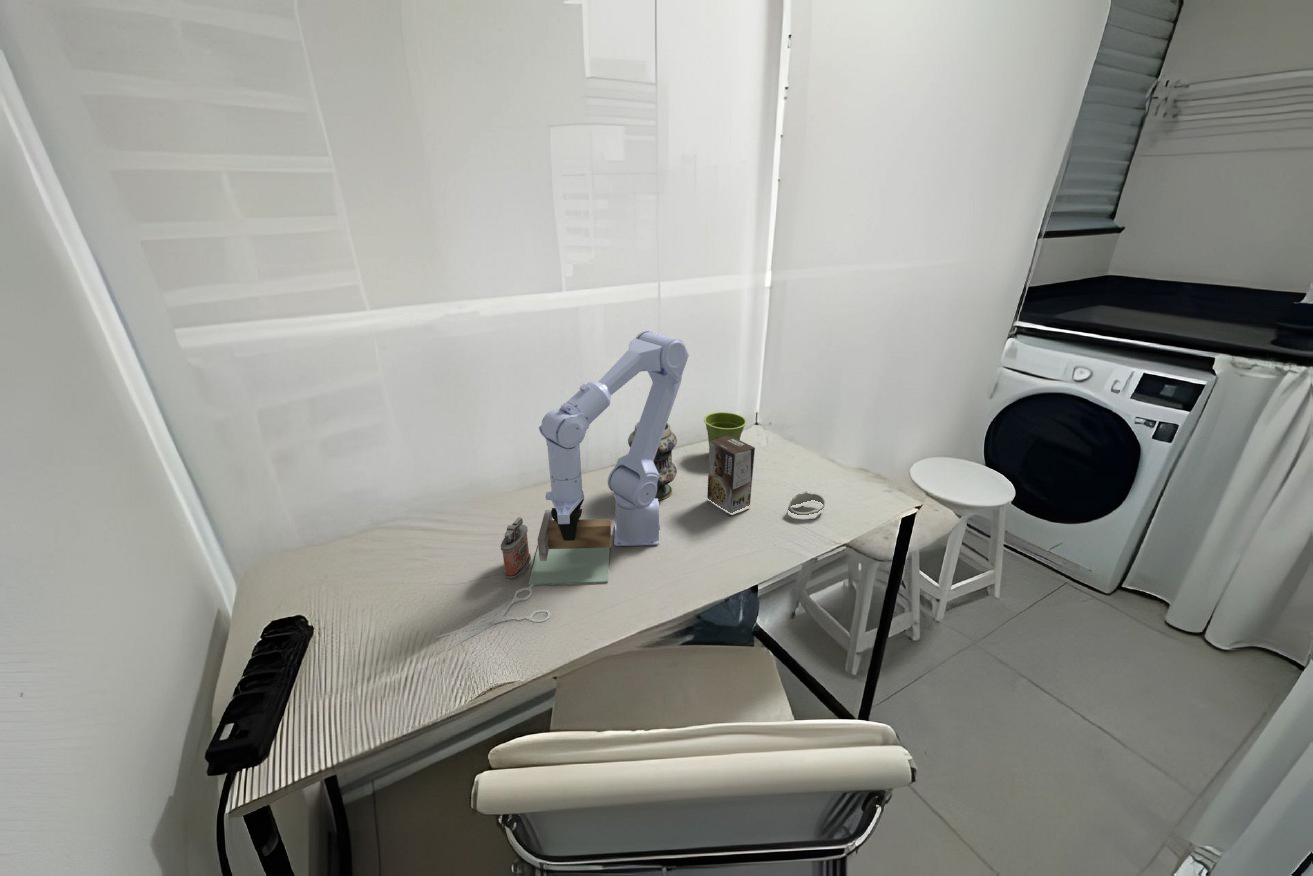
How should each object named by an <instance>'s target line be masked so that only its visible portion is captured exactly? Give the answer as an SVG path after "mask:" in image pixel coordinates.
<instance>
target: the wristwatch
mask: <svg viewBox="0 0 1313 876" xmlns="http://www.w3.org/2000/svg"><path fill="white" fill-rule="evenodd" d="M811 500H815V501H818V502H821V503H822V504H823V506H822V507H819V508H816V509H813V510H810V511H807V512H803V511H802V512H800V511H796V510H794V508H791V506H792V505H796V504H801V503H803V502H807V501H811ZM825 505H826V500H825V498H824V497H823V496H821V495H820V494H818V493H812V492H808V491H804V492H800V493H797V494H796V495H795V496H793V497H792V498H791V500H789V503H788V507H787V511H788V510H789V511H790V512H791V513H794V514H797V515H809V514H814V513H818V512H819V511H820V510H822V509H823V508H824V509H825ZM824 509H823V510H824Z"/></svg>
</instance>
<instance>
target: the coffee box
mask: <svg viewBox="0 0 1313 876" xmlns="http://www.w3.org/2000/svg"><path fill="white" fill-rule="evenodd" d="M708 447H709V448H708V470H707V471H708V473H707V493H706V494H707V496H706V497H707V498H708V499H709V500H711V501H712V502H714V503H715V504H717V505H718V506H720V507H721V508H723V509H725V510H727V511H728V512H730V513H733V512H735V511H737V510H740V509H742V508H745V507H746V506H749V505H750V506H751V498H752V487H753V486H752V484H753V473H754V464H755V463H754V461H755V452H756V451H755V450H756V447H755V446H752V445H750V444H749V443H746V442H744V441H742V440H738V439H736V438H734V437H732V436H730V435H728V436H724V437H721V438H718V439H716V440H713V441H710V442H709V441H708Z"/></svg>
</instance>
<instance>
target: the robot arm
mask: <svg viewBox="0 0 1313 876" xmlns="http://www.w3.org/2000/svg"><path fill="white" fill-rule="evenodd" d="M689 356H690V355H689V352H688V349H687V348H686V344H685V343H684V341H682V340H681V339H679V338H677V337H676V338H675V337H670V336H667V335H666V336H665V335H663V334H659V333H655V332H652V331H650V330H644V331H643V330H642V331H641V332H639V333H638V334H637V336H636V337H634V338H633V339H631V341H629V344H628V350H627V351H625V353H624V354H623V355H622V356H621V357H620V358H619V359H618V360H617V361H616V362H615V364H614V365H612V367H611V368H610V369H608V371H607V372H606V373H605V374H603V376H602V377H601V378H600V379H599V380H598V381H597V382H596V381H595V382H592V381H589V382H587V383H583V384H582V385H580V386H579V390H578V391H577V392H576V393H575V394H573V395H572V397H570V398H569V399H568V400H567V401H566V402H564V403H562V405H560V407H559V408H555V409H552V410H550V411H548V412H547V413H546V414H545V415H544V416H543V418H542V420H541V425H540V426H539V427H538V430H539V433H540V435H541V436H542V437H543V438H544V439H545V441H546V446H547V456H548V457H547V458H548V466H549V479H550V489H551V491H547V492H546V493H545V500H546V501H551V502H552V504H553V507H551V509H550V510H551V516H552V520H555V521H556V523H557V524H558V526H559V529H560V531H561V534H562V537H563V539H564V541H574V540H575V537H576V530H577V523H578V520H581V519H580V518H581V517H582V514H583V508H581V507H582V504H583V503H584V499H585V495H584V493H585V492H584V490H583V482H582V481H583V480H582V478H583V477H582V465H581V463H582V462H581V447H580V444H582V442H583V441H584V439H585V437H586V433H587V430H588V429H589V427H590V425H591V424H592V422H594V421H596V419H597V418H598V417H599V416H600V415H601V414H602V413H603V412H604V411H605V410H606V409H608V408H609V407H610V404H611V396H612V395H613V394H615V393H616V392H617V391H618V390H620V389H621V388H622V387H623V386H625V385H626V384H627V383H628V382H629V381H631V380H632V379H633V378H635V377H636V376H637V375H638V374H640V372H647V373H648V375H649V377H650V379H651V381H652V383H651V387H650V389H649V392H648V396H647V399H646V401H645V404H644V406H643V407H644V408H643V410H642V413H641V416H640V418H639V421H638V422H639V424H638V427H637V430H636V433H635V436H634V439H633V442H632V445H631V448H629V452H628V453H627V454H625V455H623V456H620V457H618V459H617V461H616V464H615V465H614V467H613V469H612V470H611V471H610V472H609V475H608V478H607V486H608V487H607V488H608V490H610V491H611V492H613V498H614V500H615V524H614V543H613V544H614V547H623V546H624V547H625V546H627V547H628V546H629V547H631V546H634V547H635V546H658V545H659V544H660V531H661V522H660V506H659V505H660V504H659V501H658V499H657V498H655V496H656V493H657V482H658V479H659V473H658V471H657V469H656V467H655V465H654V462H653V461H654V458H655V455H656V453H657V450H658V447H659V444H660V441H661V438H662V435H663V432H664V430H665V427H666V424H667V423H668V421H669V418H670V415H671V412H672V409H673V406H674V403H675V401H676V398H677V395H678V392H679V389H680V386H681V383H682V377H683V373H684V370H685V368H686V365H687V362H688V358H689ZM657 544H658V545H657Z"/></svg>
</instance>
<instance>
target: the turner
mask: <svg viewBox="0 0 1313 876" xmlns="http://www.w3.org/2000/svg"><path fill="white" fill-rule="evenodd" d="M551 510H552V509H545V510H544V513H543V517H542V519H541V521H542V522H541V525H540V529H539V532H538V536H537V549H538V548H539V558H540V561H546V560H547V556H548V551H549V549H576V548H609V549H610V548H612V526H611V525H612V520H611V518H591V519H590V518H588V519H587V518H585V519H579V520H578V523H577V530H576V537H575V540H574V541H564V539H563V537H562V534H561V531H560V529H559V526H558V524H557V523H556V521H555V520H554V519H553V518H552V516H551Z"/></svg>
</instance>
